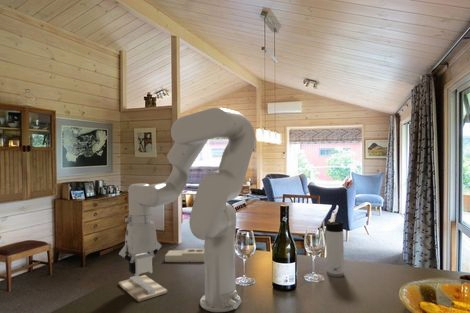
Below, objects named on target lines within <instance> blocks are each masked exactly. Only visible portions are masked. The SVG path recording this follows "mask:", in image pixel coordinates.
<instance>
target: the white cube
mask: <svg viewBox="0 0 470 313" xmlns="http://www.w3.org/2000/svg"><path fill="white" fill-rule="evenodd" d="M134 262H135V272H136V273H135V274H133V275H134V276H137V277H139V276H140V275H141V274H145V273H149V274H152V273H153V269H152V256H151V255H149V254H148V253H147V252H146V253H141V254H136V256H135V259H134Z"/></svg>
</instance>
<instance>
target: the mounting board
mask: <svg viewBox="0 0 470 313" xmlns="http://www.w3.org/2000/svg"><path fill="white" fill-rule="evenodd" d="M139 278H140V279H142V280H143V281H145V282H146V283H147V284H149V285H150V286H152V287H153V288H154V289H155V291H156V292H155V293H151V294H147V293H146V292H145V291H143V290H142V289H141V288H139V287H138V286H137V285H136V284H134V283H133V282H132V281H130V278H129V279H125V280H121V281H118V285H119V287H120V288H122V289H123V290H124V291H125V292H126V293H127V294H129V295H130V296H131V297H132V298H133V299H135V300H136V301H137V302H140V303H141V302H143V301H146V300H149V299H153V298H155V297H159V296H162V295H165V294H168V289H167V288H165V287H164V286H162V285H160V283H158V282H156V281H155V280H153V279H152V278H150V277H148V276H147V275H146V274H144V275H139Z"/></svg>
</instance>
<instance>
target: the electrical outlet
mask: <svg viewBox="0 0 470 313" xmlns="http://www.w3.org/2000/svg"><path fill="white" fill-rule="evenodd" d="M164 259H165V260H164V261H165V263H166V262H167V263H204V248H184V250H183V249H181V250H176V249H175V250H172V249H171V250H168V251H167V253H166V254H165V255H164ZM189 261H190V262H189Z"/></svg>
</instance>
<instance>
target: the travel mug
mask: <svg viewBox="0 0 470 313" xmlns="http://www.w3.org/2000/svg"><path fill="white" fill-rule="evenodd" d="M325 244H326V245H325V249H326V253H325V255H326V256H325V258H326V274H327V275H328V276H331V277H332V278H333V277H335V278H336V277H337V278H341V277H343V276H344V275H345V264H344V263H345V262H344V261H345V260H344V259H345V258H344V257H345V256H344V254H345V253H344V251H345V249H344V222H343V221H331V222H327V223H325Z"/></svg>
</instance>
